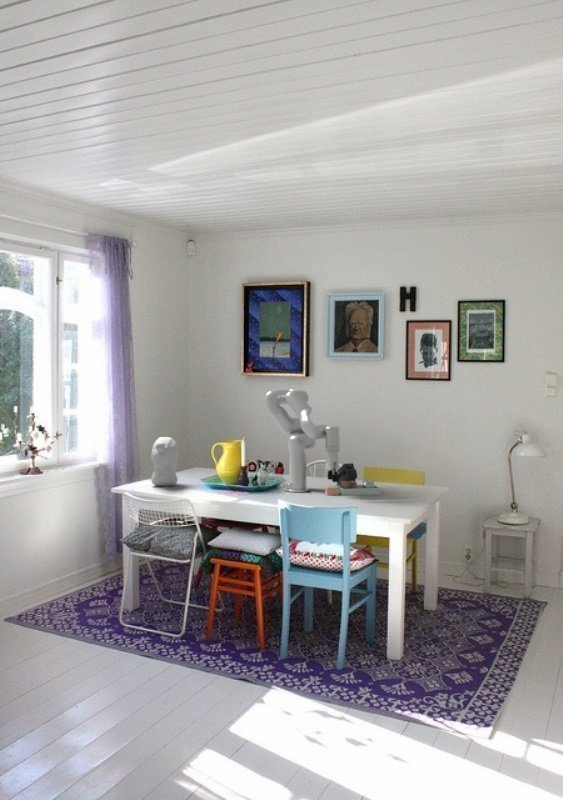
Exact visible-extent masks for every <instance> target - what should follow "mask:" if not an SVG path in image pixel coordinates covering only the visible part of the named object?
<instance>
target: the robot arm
mask: <svg viewBox="0 0 563 800" xmlns="http://www.w3.org/2000/svg"><path fill="white" fill-rule="evenodd" d="M308 402H309V394H308V393H307V392H306V391H305V390H303V389H291V388H290V389H289V388H284V389H279V388H278V389H271V390H270V391H269V390H268V392H266V394H265V396H264V406H265V409H266V411H267V412H268V413H269V415H270V416H271V417H272V418H273V420H274V422H275V423H276V425H277V427H278V428H279V429H280V431H281V432H282V434H283V435H285V436H290V437H289V438H288V441H287V448H288V453H289V472H288V473H289V476H288V477H289V479H288V480H289V481H288V482H286V483H280V487H281V488H286V489H285V490H286V492H289V493H307V492H309V491H310V488H309V487H307V474H308V473H307V465H308V464H307V463H308V462H307V459H308V458H307V455H306V451H307V450H311V449H314V447H315V446H316V442H317V441H316V440H323V439H325V440H324V441H325V452H326V455H325V456H326V459H325V468H326V470H327V480H331V481H332V483H337V482H338V481H339V480H338V469H339V468H340V460H339V452H340V451H341V450H340V449H341V448H340V426H338V425H328V424H318V425H315V424H314V423H313V421H312V420H311V418H310V415H311V413H312V412H313V408H312V407H311V406H310V405H309V403H308ZM281 405H288V406H289V407H290V408H291V409H292V411H294V413H295V414H296V415H297V417H291V416H290V414H289V413H288V412H287V410H286V409H285V408H284V407H283V406H281Z"/></svg>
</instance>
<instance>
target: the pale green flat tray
mask: <svg viewBox="0 0 563 800" xmlns="http://www.w3.org/2000/svg"><path fill="white" fill-rule="evenodd" d="M335 486H337V487H338V494H340V495H341V496H361V495H363V496H366V495H374V496H375V495H382V487H380V486H378V485H377V484H374V488H363V484H357V489H343V488H341V485H337V484H336V485H335Z"/></svg>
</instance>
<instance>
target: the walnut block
mask: <svg viewBox="0 0 563 800" xmlns="http://www.w3.org/2000/svg"><path fill="white" fill-rule="evenodd" d="M357 485H358V482H357V481H356V482H355V481H341V488H343V489H357Z"/></svg>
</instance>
